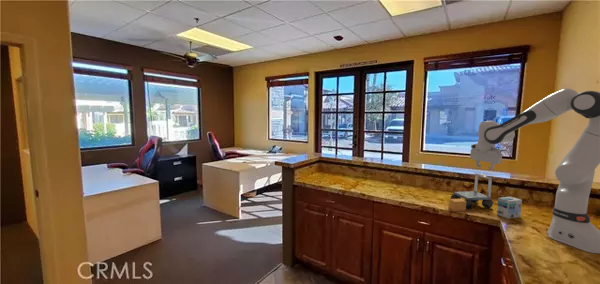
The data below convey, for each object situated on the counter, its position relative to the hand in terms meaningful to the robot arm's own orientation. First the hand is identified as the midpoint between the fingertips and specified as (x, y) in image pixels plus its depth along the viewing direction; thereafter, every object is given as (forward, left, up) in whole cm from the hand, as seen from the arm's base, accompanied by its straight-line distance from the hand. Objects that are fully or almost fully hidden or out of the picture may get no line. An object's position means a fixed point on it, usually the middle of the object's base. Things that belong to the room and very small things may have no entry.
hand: (484, 168), depth 164 cm
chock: (+2, +15, -27) cm, 31 cm away
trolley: (+8, +1, -27) cm, 28 cm away
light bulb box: (-11, -8, -27) cm, 31 cm away
